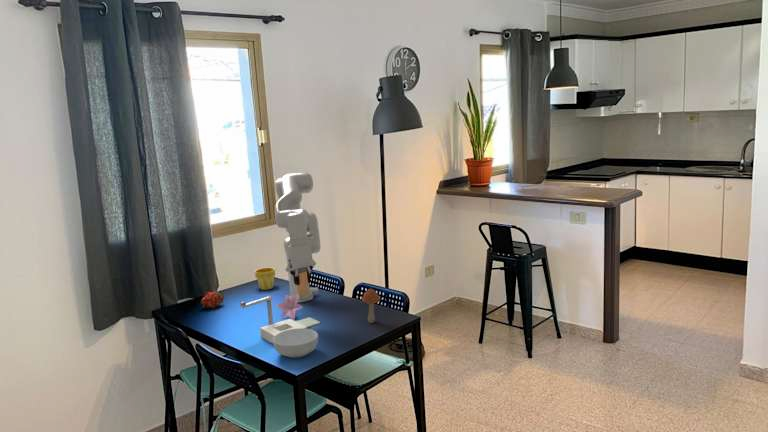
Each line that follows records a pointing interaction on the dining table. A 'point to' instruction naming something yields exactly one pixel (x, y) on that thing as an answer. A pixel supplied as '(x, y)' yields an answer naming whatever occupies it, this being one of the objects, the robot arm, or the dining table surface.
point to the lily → (289, 306)
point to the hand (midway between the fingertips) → (302, 282)
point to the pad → (308, 322)
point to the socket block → (277, 325)
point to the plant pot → (265, 277)
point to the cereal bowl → (295, 342)
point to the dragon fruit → (212, 299)
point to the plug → (303, 282)
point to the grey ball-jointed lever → (254, 302)
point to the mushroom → (371, 303)
